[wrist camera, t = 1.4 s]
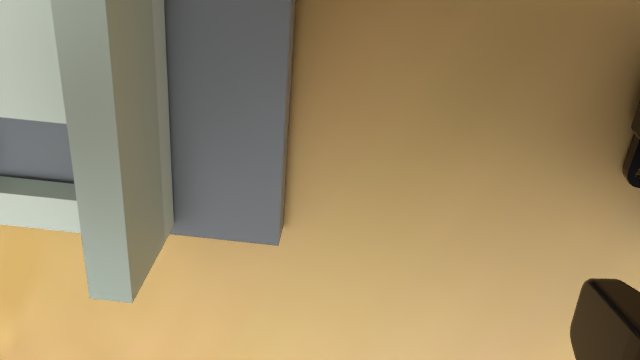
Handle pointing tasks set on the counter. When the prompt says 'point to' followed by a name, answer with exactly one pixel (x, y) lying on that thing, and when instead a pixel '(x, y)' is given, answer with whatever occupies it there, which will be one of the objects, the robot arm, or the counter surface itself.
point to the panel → (94, 129)
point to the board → (204, 120)
